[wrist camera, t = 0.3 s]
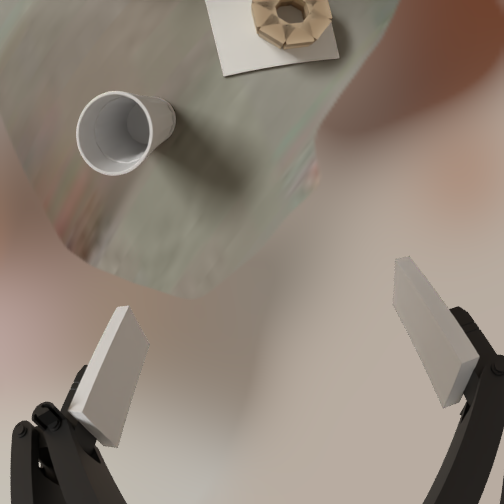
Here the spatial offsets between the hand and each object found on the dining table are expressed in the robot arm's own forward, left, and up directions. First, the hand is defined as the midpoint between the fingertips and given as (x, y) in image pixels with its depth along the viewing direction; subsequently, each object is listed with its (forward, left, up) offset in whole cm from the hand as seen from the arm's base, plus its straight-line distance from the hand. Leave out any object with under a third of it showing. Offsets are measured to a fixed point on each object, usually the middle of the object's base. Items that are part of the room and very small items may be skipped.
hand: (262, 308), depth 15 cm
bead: (-18, +8, -27) cm, 33 cm away
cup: (-9, -11, -27) cm, 31 cm away
